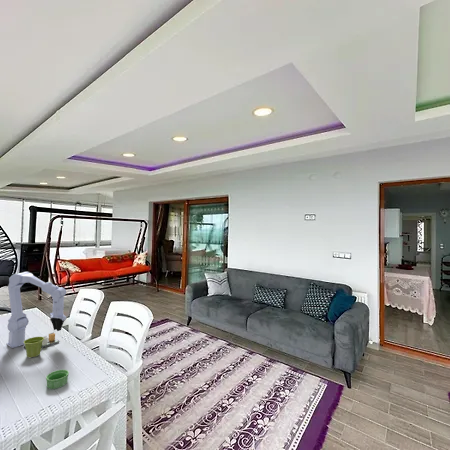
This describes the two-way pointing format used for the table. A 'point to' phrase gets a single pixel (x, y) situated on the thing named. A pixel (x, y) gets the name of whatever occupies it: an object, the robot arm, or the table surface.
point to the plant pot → (33, 346)
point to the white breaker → (45, 340)
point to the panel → (48, 343)
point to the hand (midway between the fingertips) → (57, 329)
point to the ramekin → (57, 379)
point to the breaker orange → (51, 336)
